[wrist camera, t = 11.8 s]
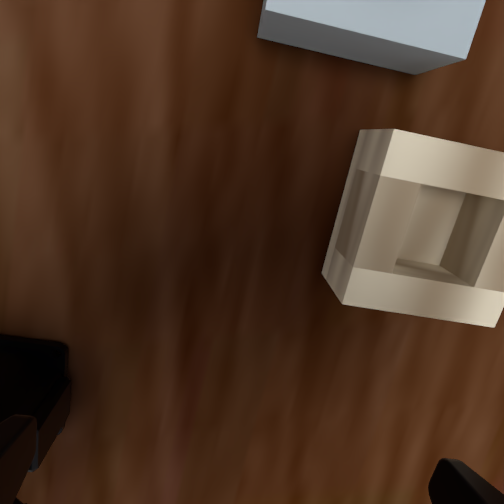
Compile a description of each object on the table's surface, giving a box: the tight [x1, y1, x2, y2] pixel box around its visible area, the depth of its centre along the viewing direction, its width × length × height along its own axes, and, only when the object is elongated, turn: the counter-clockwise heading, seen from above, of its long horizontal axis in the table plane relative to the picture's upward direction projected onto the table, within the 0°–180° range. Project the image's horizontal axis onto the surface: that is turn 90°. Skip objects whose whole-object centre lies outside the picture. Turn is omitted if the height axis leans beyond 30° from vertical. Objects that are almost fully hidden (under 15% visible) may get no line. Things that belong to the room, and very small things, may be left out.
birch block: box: [322, 129, 504, 327], centre depth 18 cm, size 8×8×4 cm
